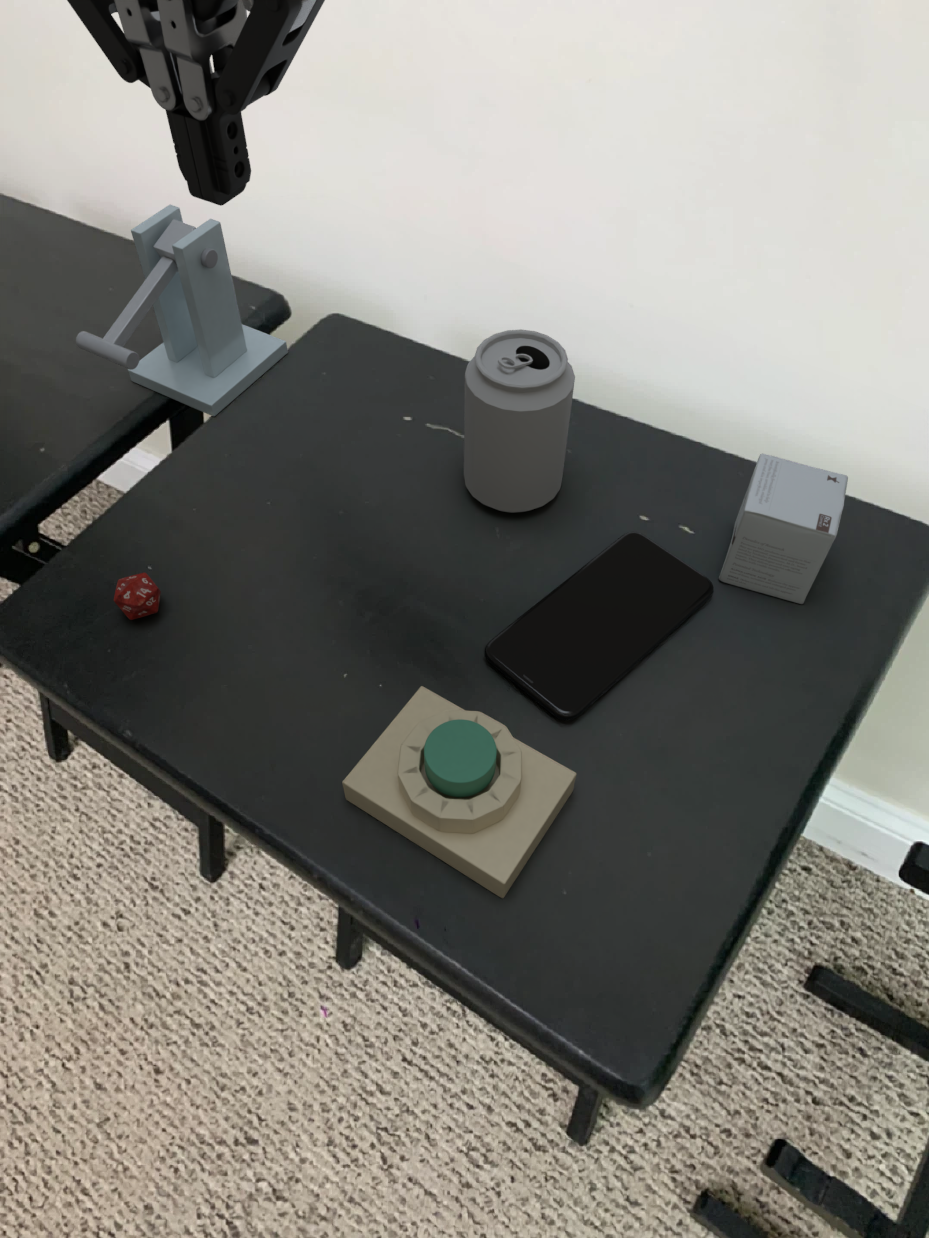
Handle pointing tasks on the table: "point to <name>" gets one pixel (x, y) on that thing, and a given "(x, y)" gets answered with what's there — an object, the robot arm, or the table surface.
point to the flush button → (460, 758)
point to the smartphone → (598, 624)
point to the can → (516, 420)
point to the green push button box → (461, 826)
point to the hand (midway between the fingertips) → (220, 193)
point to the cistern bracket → (199, 322)
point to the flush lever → (138, 303)
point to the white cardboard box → (784, 528)
